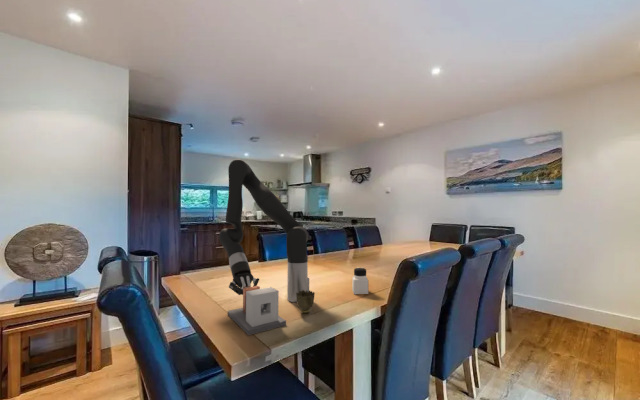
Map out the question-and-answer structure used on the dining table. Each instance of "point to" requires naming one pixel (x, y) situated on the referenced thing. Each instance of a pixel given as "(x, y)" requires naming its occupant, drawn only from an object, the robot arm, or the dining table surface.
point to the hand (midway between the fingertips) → (249, 302)
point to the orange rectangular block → (263, 306)
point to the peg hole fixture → (258, 311)
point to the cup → (305, 301)
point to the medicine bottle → (360, 281)
